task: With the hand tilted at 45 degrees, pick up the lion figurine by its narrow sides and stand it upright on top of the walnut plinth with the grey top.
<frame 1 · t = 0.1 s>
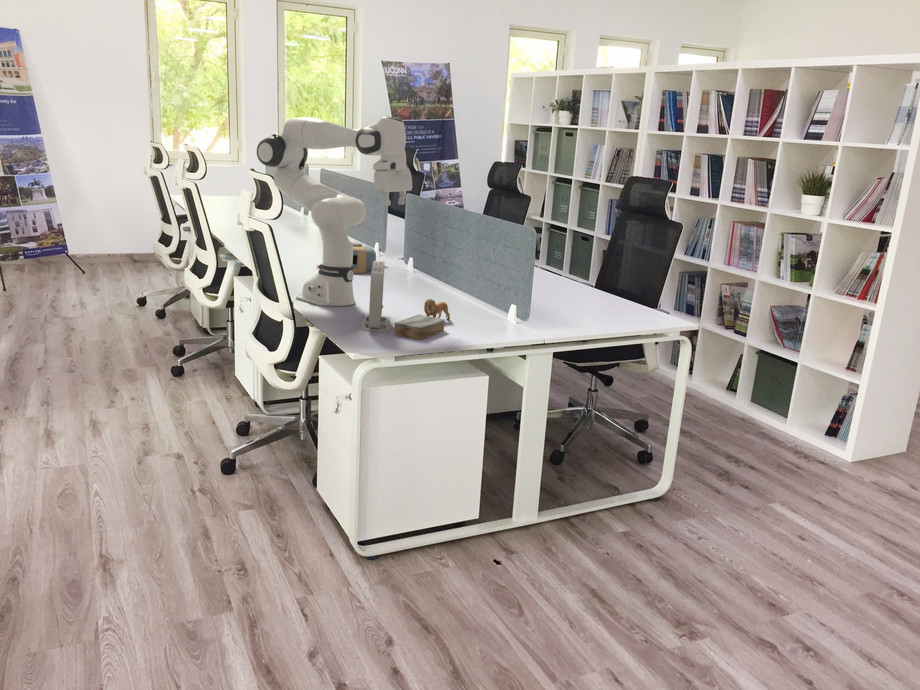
hand: (394, 205, 280), 39 cm above the table, tool pointing down, fingers open, 8 cm apart
network device: (375, 325, 272), on the table
lion figurine: (436, 322, 282), on the table
alarm clock: (354, 269, 371), on the table
plinth: (419, 332, 266), on the table
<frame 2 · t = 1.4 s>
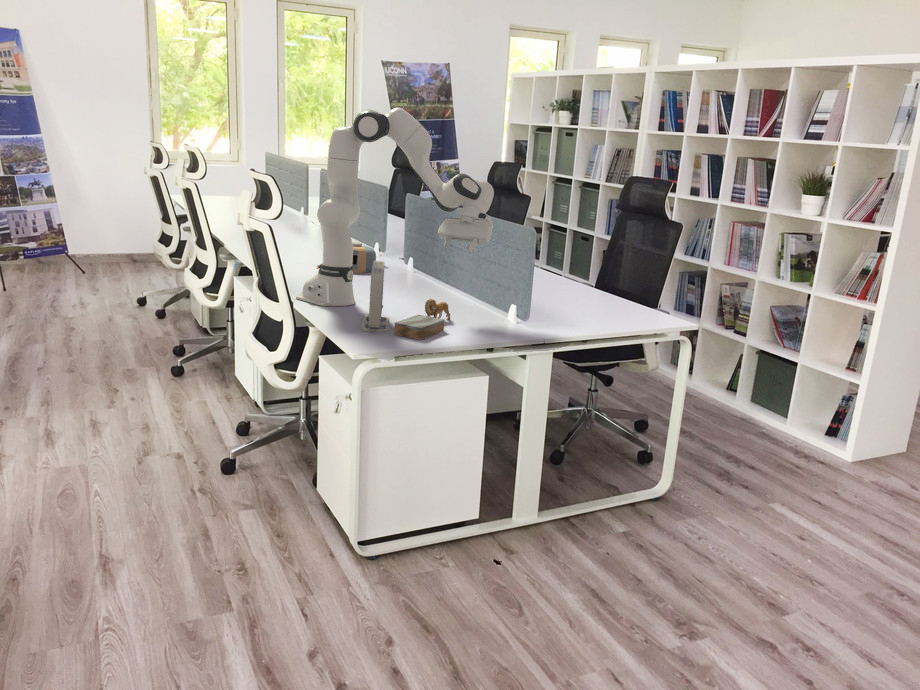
hand: (457, 248, 286), 25 cm above the table, tool tilted 45°, fingers open, 8 cm apart
nothing on the table moved.
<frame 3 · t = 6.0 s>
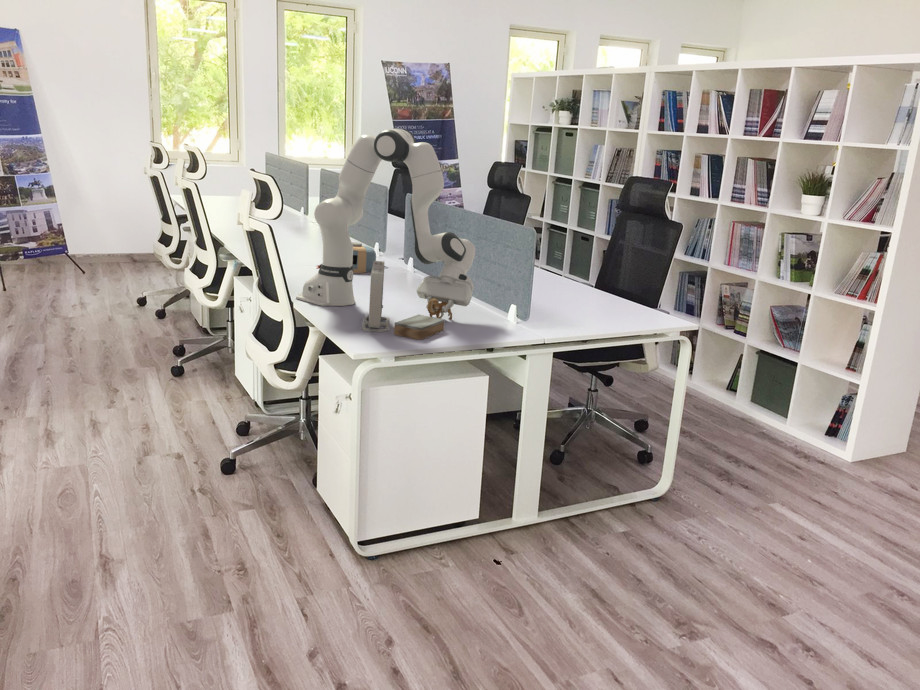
hand: (436, 310, 281), 4 cm above the table, tool tilted 45°, fingers closed on lion figurine, 5 cm apart
lion figurine: (439, 321, 284), on the table, touching gripper
everything else where it was.
when the fingers open (12 cm above the table, at t = 10.2 s): lion figurine drops 2 cm, resting on plinth.
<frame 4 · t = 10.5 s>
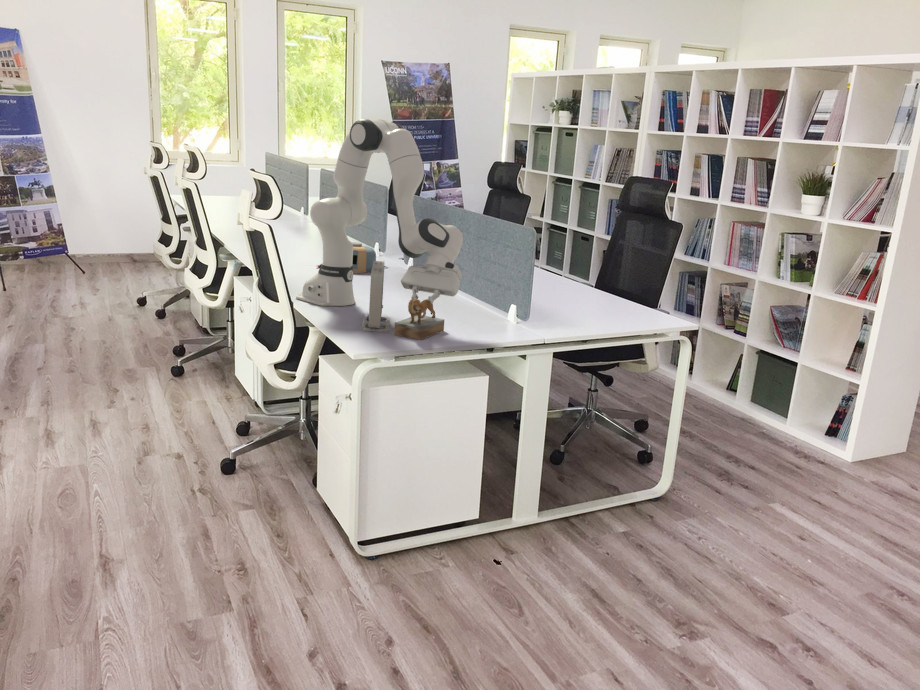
hand: (421, 301, 262), 11 cm above the table, tool tilted 45°, fingers open, 5 cm apart
lion figurine: (421, 322, 263), point 4 cm above the table, touching gripper, plinth
everything else where it was.
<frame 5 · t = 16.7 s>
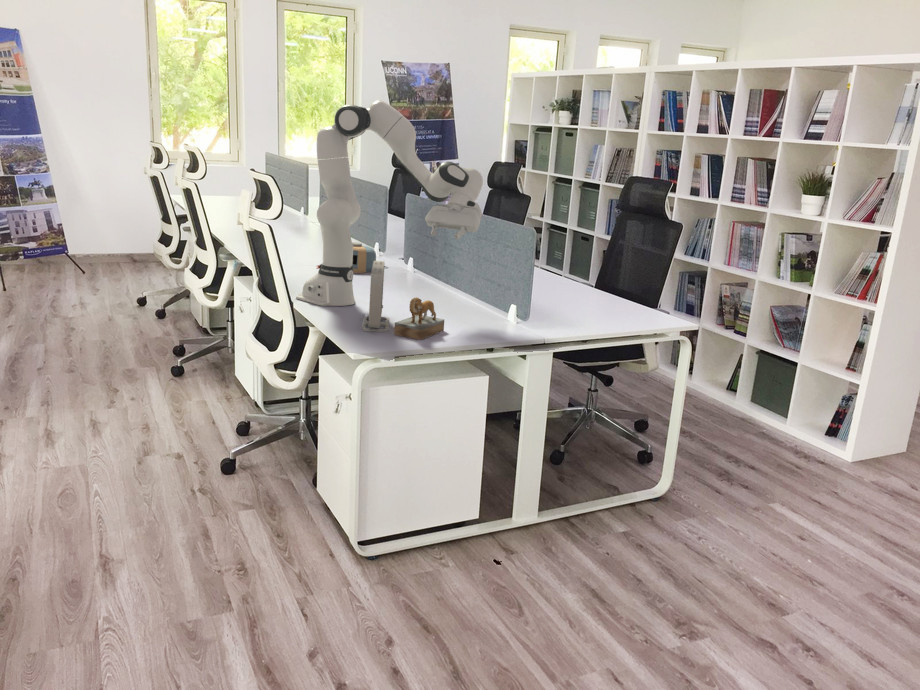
hand: (444, 236, 282), 29 cm above the table, tool tilted 45°, fingers open, 8 cm apart
lion figurine: (422, 322, 264), point 4 cm above the table, touching plinth
everything else where it was.
at the end: lion figurine inside the target area on the plinth (1.3 cm from its centre), point 3.8 cm above the plinth's base; lion figurine tilted 0°; the gripper is holding nothing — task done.
